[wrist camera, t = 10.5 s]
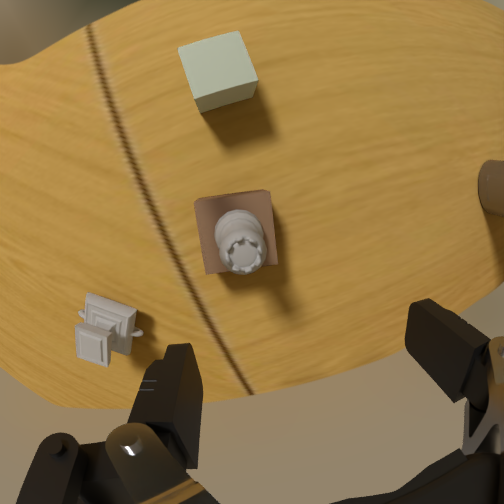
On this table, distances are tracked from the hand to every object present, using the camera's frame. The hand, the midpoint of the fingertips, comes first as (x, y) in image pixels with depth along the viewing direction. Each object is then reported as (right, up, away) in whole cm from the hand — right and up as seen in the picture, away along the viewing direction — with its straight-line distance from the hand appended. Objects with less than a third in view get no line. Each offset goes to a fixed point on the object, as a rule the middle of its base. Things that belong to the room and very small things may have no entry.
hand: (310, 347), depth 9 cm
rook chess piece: (-3, +5, +17) cm, 18 cm away
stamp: (-20, -5, +24) cm, 31 cm away
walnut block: (-4, +6, +22) cm, 23 cm away
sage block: (-6, +22, +18) cm, 29 cm away
